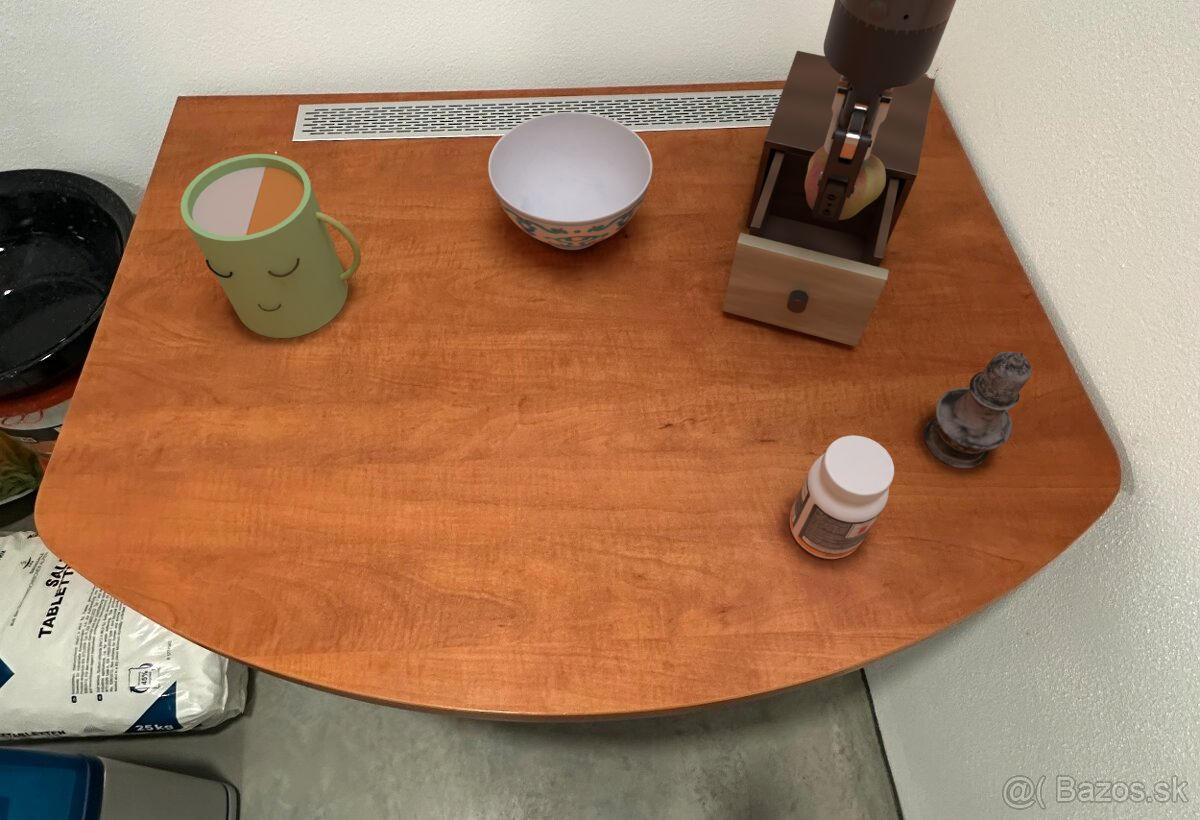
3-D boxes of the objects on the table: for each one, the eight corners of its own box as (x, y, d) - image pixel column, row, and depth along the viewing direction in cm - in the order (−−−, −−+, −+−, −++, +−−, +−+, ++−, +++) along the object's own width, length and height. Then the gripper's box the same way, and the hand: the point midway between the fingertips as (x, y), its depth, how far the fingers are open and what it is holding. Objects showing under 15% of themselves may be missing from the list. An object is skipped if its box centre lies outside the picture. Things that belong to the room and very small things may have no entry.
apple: (779, 177, 70) (794, 120, 65) (872, 187, 69) (894, 130, 64) (778, 225, 67) (793, 169, 62) (875, 236, 66) (898, 179, 61)
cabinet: (880, 259, 77) (917, 175, 69) (745, 226, 80) (764, 140, 71) (899, 166, 85) (935, 78, 76) (776, 138, 87) (797, 50, 79)
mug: (224, 342, 71) (164, 245, 61) (248, 256, 77) (197, 154, 67) (367, 340, 71) (331, 243, 61) (380, 254, 77) (350, 152, 67)
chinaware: (524, 163, 84) (519, 99, 78) (662, 190, 82) (668, 127, 76) (474, 263, 77) (463, 202, 70) (625, 296, 74) (629, 236, 68)
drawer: (854, 357, 70) (884, 290, 63) (718, 320, 72) (733, 252, 65) (878, 243, 78) (908, 172, 70) (755, 213, 80) (772, 141, 72)
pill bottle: (876, 539, 61) (922, 478, 53) (817, 574, 60) (854, 517, 52) (830, 482, 64) (866, 415, 56) (772, 514, 62) (800, 450, 54)
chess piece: (990, 480, 64) (1064, 397, 54) (916, 459, 65) (976, 373, 55) (995, 422, 67) (1066, 333, 57) (924, 402, 68) (982, 312, 58)
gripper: (943, 66, 48) (863, 262, 62) (964, -50, 56) (888, 148, 70) (819, 42, 50) (768, 239, 64) (856, -69, 57) (804, 129, 71)
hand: (831, 190), depth 67 cm, fingers closed on apple, 6 cm apart
